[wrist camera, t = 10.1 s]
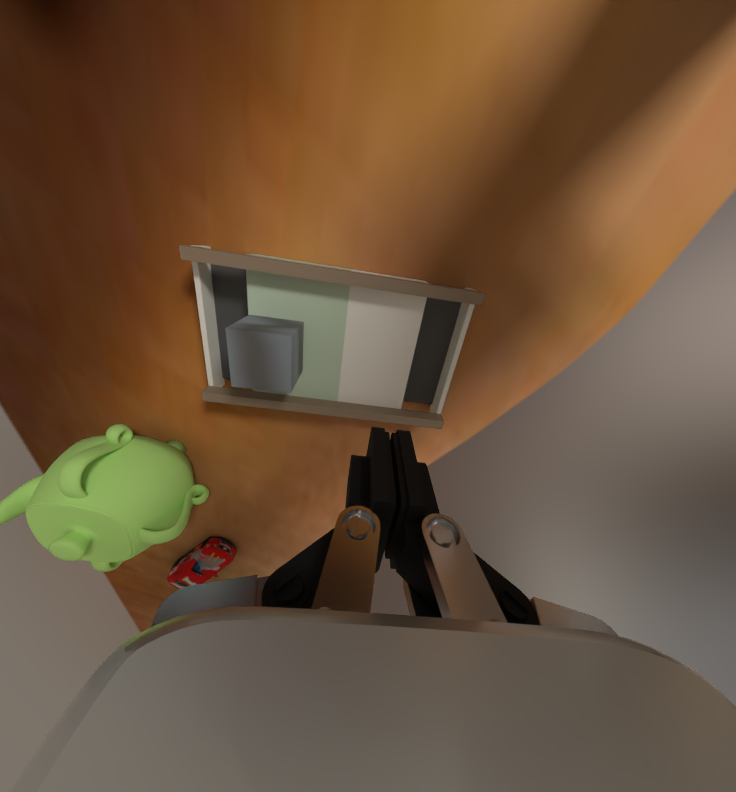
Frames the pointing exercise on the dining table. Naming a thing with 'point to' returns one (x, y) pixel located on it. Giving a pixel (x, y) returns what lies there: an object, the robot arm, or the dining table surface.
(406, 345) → the box
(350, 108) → the dining table surface
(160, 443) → the teapot
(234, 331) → the block
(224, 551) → the race car
